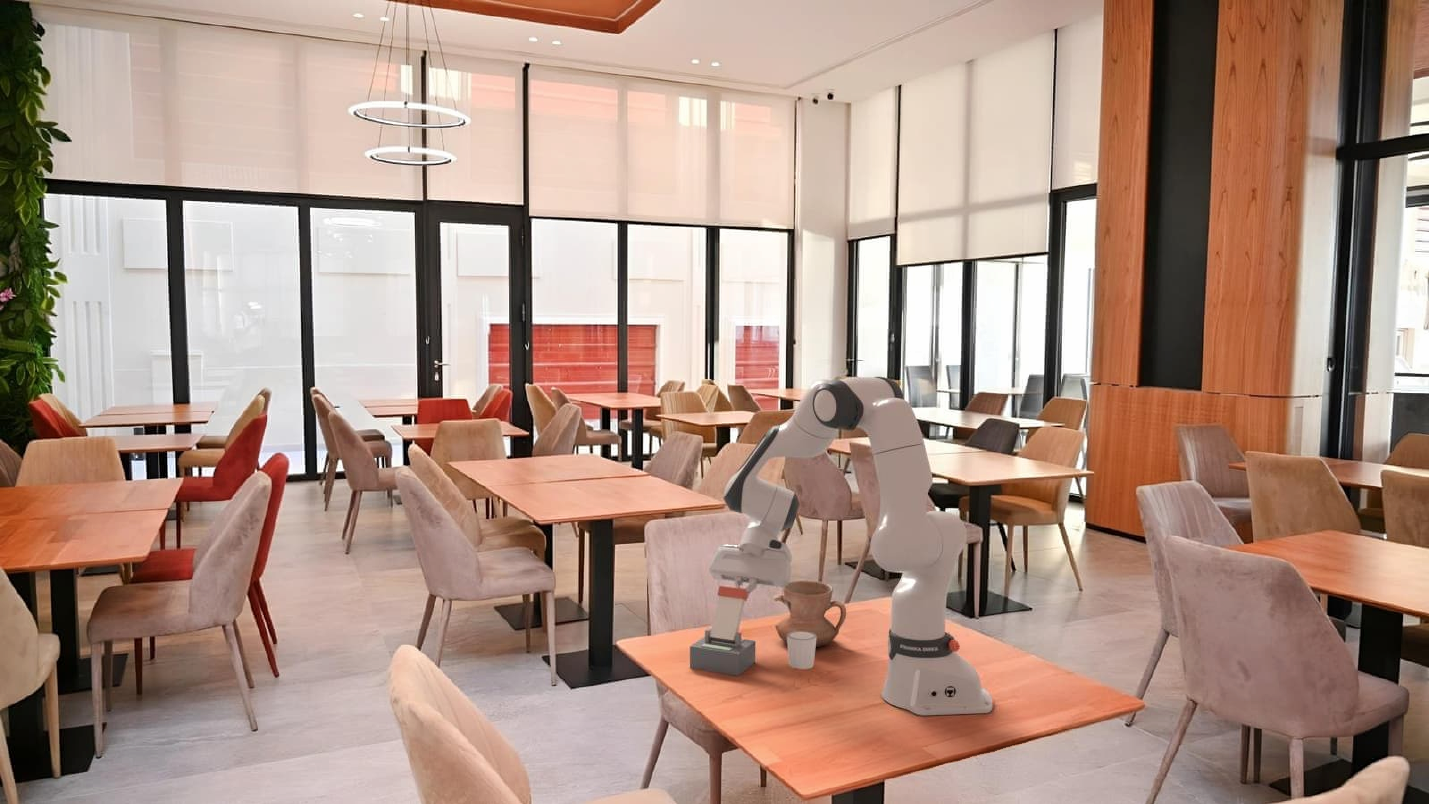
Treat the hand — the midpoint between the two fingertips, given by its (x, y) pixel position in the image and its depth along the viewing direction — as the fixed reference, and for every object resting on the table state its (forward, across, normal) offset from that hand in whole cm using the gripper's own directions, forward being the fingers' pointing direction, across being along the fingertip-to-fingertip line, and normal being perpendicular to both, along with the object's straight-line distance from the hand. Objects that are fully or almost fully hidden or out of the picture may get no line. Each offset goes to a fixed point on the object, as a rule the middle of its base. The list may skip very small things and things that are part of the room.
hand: (741, 596), depth 230 cm
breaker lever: (+13, 0, -2) cm, 13 cm away
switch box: (+17, 0, +2) cm, 17 cm away
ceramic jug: (0, +13, +19) cm, 23 cm away
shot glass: (+11, +16, +8) cm, 21 cm away
